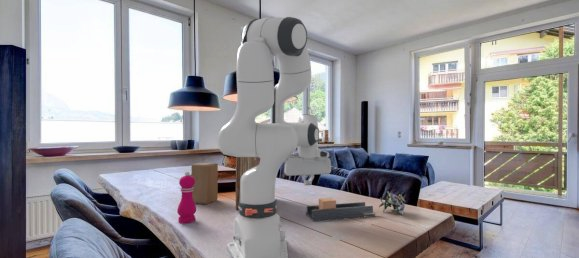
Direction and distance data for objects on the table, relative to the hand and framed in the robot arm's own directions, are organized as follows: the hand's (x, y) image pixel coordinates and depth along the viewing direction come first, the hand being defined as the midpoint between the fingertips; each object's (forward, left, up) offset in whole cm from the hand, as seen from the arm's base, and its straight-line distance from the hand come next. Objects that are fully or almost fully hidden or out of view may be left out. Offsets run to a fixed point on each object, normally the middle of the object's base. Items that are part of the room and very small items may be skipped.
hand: (307, 185), depth 112 cm
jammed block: (0, -9, -12) cm, 15 cm away
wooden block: (+38, +44, -14) cm, 60 cm away
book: (+28, +19, -14) cm, 36 cm away
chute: (0, -15, -14) cm, 20 cm away
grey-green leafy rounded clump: (-3, -39, -14) cm, 41 cm away
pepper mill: (+8, +49, -14) cm, 52 cm away
